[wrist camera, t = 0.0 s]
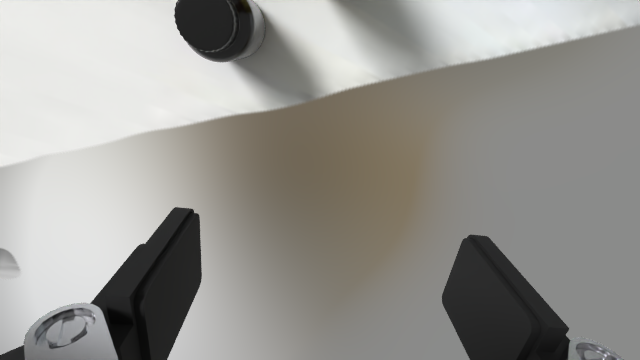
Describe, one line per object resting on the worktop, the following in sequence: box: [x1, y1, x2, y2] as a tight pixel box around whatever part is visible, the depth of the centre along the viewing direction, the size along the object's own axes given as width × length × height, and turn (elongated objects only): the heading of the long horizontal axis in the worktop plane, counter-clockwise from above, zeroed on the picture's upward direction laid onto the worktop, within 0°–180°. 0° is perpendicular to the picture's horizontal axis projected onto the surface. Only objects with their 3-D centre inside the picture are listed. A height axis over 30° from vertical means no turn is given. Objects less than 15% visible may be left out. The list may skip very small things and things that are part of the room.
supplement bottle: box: [174, 0, 265, 62], centre depth 31 cm, size 7×7×12 cm
